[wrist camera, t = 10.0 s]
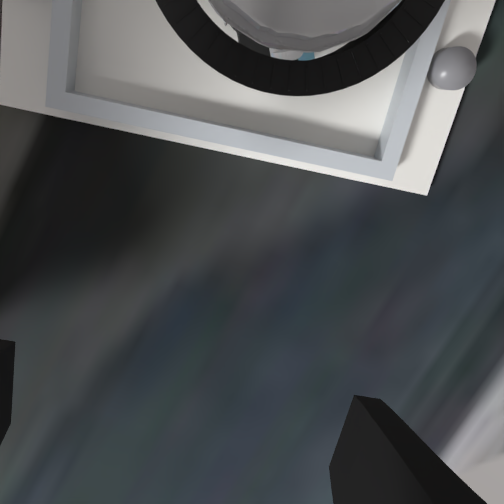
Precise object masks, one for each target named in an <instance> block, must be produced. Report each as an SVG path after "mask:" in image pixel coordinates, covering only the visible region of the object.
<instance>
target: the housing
mask: <svg viewBox="0 0 504 504" xmlns="http://www.w3.org/2000/svg"><path fill="white" fill-rule="evenodd" d="M197 1H198V3H199V4H200V6H201V7H202V9H203V10H204V11H205V12H206V14H207V15H208V16H209V17H210V18H211V19H212V21H213V22H214V23H215V24H216V25H217V26H218V27H219V28H221V29H222V30H223V31H224V32H225V33H226V34H227V35H229V36H230V37H231V38H233V39H234V40H236V41H237V42H238V37H237V32H236V31H235V30H234V29H233V28H232V27H231V26H230V25H229V24H227V26H225V25H224V21H223V19H222V18H221V17H220V16H219V15H218V14H217V13H216V12H215V10H214V9H213V7H212V6H211V4H210V3H209V1H208V0H197ZM495 1H496V0H445V1H444V3H443V5H442V6H441V8H440V10H439V12H438V13H437V15H436V16H435V18H434V19H433V20H432V22H431V23H430V25H429V26H428V28H427V29H426V30H425V31H424V32H423V34H422V35H421V36H420V37H419V38H418V39H417V41H416V42H415V43H414V44H413V45H412V46H411V47H410V48H409V49H408V50H407V51H406V52H405V53H404V54H403V55H402V56H400V57H399V58H398V59H397V60H395V61H394V62H393V63H392V64H390V65H389V66H388V67H386V68H385V69H383V70H382V71H380V72H378V73H377V74H375V75H374V76H372V77H370V78H368V79H366V80H364V81H362V82H360V83H358V84H356V85H353V86H350V87H348V88H345V89H342V90H338V91H335V92H331V93H327V94H320V95H313V96H284V95H276V94H271V93H266V92H261V91H258V90H255V89H252V88H249V87H246V86H244V85H242V84H239V83H237V82H235V81H232V80H231V79H229V78H227V77H226V76H224V75H222V74H220V73H219V72H217V71H216V70H214V69H213V68H212V67H210V66H209V65H208V64H206V63H205V62H203V61H202V60H201V59H200V58H199V57H198V56H197V55H196V54H195V53H194V52H192V51H191V50H190V49H189V47H188V46H187V45H186V44H185V43H184V42H183V41H182V40H181V39H180V37H179V36H178V35H177V34H176V32H175V31H174V30H173V28H172V27H171V25H170V24H169V23H168V21H167V20H166V18H165V16H164V15H163V13H162V11H161V10H160V8H159V6H158V5H157V2H156V0H2V28H1V57H0V105H4V106H9V107H13V108H18V109H23V110H28V111H32V112H37V113H42V114H46V115H51V116H56V117H60V118H65V119H70V120H75V121H79V122H84V123H89V124H93V125H98V126H103V127H107V128H112V129H117V130H122V131H126V132H131V133H136V134H140V135H145V136H150V137H154V138H159V139H164V140H169V141H173V142H178V143H183V144H187V145H192V146H197V147H201V148H206V149H211V150H216V151H220V152H225V153H230V154H234V155H239V156H244V157H248V158H253V159H258V160H263V161H267V162H272V163H277V164H281V165H286V166H291V167H295V168H300V169H305V170H309V171H314V172H319V173H324V174H328V175H333V176H338V177H342V178H347V179H352V180H356V181H361V182H366V183H371V184H375V185H380V186H385V187H389V188H394V189H399V190H403V191H408V192H413V193H418V194H422V195H427V194H428V191H429V188H430V185H431V183H432V180H433V177H434V174H435V171H436V168H437V166H438V163H439V160H440V157H441V154H442V151H443V148H444V146H445V143H446V140H447V137H448V134H449V131H450V129H451V126H452V123H453V120H454V117H455V114H456V112H457V109H458V106H459V103H460V100H461V97H462V95H463V92H464V89H465V86H467V85H468V84H469V83H470V82H471V80H472V79H473V77H474V75H475V72H476V68H477V62H476V55H477V52H478V49H479V46H480V43H481V41H482V38H483V35H484V32H485V29H486V26H487V24H488V21H489V18H490V15H491V12H492V9H493V7H494V4H495ZM347 43H349V42H347ZM347 43H344V44H341V45H338V46H336V47H333V48H330V49H327V50H324V51H321V52H314V56H315V58H319V57H322V56H325V55H327V54H329V53H332V52H334V51H336V50H337V49H339V48H341V47H343V46H344V45H346V44H347Z"/></svg>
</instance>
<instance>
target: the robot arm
mask: <svg viewBox="0 0 504 504" xmlns="http://www.w3.org/2000/svg"><path fill="white" fill-rule="evenodd" d="M14 357H15V342H14V341H8V340H1V339H0V445H1V443H2V441H3V438H4V436H5V434H6V432H7V430H8V428H9V426H10V424H11V411H12V393H13V375H14ZM329 470H330V479H331V488H332V496H333V503H334V504H487V503H486V502H485V501H484V500H483V499H481V497H479V496H478V495H477V494H476V493H475V492H474V491H473V490H472V489H471V488H470V487H468V485H467V484H466V483H465V482H463V481H462V480H461V479H460V478H459V477H458V476H457V475H456V474H455V473H454V472H453V471H452V470H451V469H450V468H449V467H448V466H447V465H446V464H445V463H444V462H443V461H442V460H441V459H440V458H439V457H438V456H437V455H436V454H435V453H434V452H433V451H432V450H431V449H430V448H429V447H428V446H427V445H426V444H425V443H424V442H423V441H422V440H421V439H420V438H419V437H418V436H417V434H416V433H415V432H414V431H413V430H412V429H411V428H410V427H409V426H408V425H407V424H406V423H405V422H404V421H403V420H402V419H401V418H400V417H399V416H398V415H397V414H396V413H395V412H394V411H393V410H392V409H391V408H390V407H389V406H388V405H387V404H385V403H384V402H383V401H382V400H381V399H376V398H370V397H364V396H357V395H354V397H353V400H352V403H351V406H350V408H349V411H348V414H347V417H346V420H345V423H344V426H343V428H342V431H341V434H340V437H339V440H338V443H337V446H336V448H335V451H334V454H333V457H332V460H331V463H330V466H329Z"/></svg>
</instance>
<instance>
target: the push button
mask: <svg viewBox="0 0 504 504" xmlns="http://www.w3.org/2000/svg"><path fill="white" fill-rule="evenodd" d="M208 1H209V3H210V4H211V6H212V7H213V9H214V10H215V12H216V13H217V14H218V15H219V16H220V17H221V18H222V19H223V21H224V25H225V26H227V24H229V25H230V26H231V27H232V28H233V29H234V30H235V31H236V32H237V37H238V42H237V41H236V40H234V39H233V38H231V37H230V36H229V35H227V34H226V33H225V32H224V31H223V30H222V29H221V28H219V27H218V26H217V25H216V24H215V23H214V22H213V21H212V19H211V18H210V17H209V16H208V15H207V14H206V12H205V11H204V10H203V9H202V7H201V6H200V4H199V3H198V1H197V0H156V2H157V5H158V6H159V8H160V10H161V11H162V13H163V15H164V16H165V18H166V20H167V21H168V23H169V24H170V25H171V27H172V28H173V30H174V31H175V32H176V34H177V35H178V36H179V37H180V39H181V40H182V41H183V42H184V43H185V44H186V45H187V46H188V47H189V49H190V50H191V51H192V52H194V53H195V54H196V55H197V56H198V57H199V58H200V59H201V60H202V61H203V62H205V63H206V64H208V65H209V66H210V67H212V68H213V69H214V70H216V71H217V72H219V73H220V74H222V75H224V76H226V77H227V78H229V79H231V80H232V81H235V82H237V83H239V84H242V85H244V86H246V87H249V88H252V89H255V90H258V91H261V92H266V93H271V94H276V95H284V96H313V95H320V94H327V93H331V92H335V91H338V90H342V89H345V88H348V87H350V86H353V85H356V84H358V83H360V82H362V81H364V80H366V79H368V78H370V77H372V76H374V75H375V74H377V73H378V72H380V71H382V70H383V69H385V68H386V67H388V66H389V65H390V64H392V63H393V62H394V61H395V60H397V59H398V58H399V57H400V56H402V55H403V54H404V53H405V52H406V51H407V50H408V49H409V48H410V47H411V46H412V45H413V44H414V43H415V42H416V41H417V39H418V38H419V37H420V36H421V35H422V34H423V32H424V31H425V30H426V29H427V28H428V26H429V25H430V23H431V22H432V20H433V19H434V18H435V16H436V15H437V13H438V12H439V10H440V8H441V6H442V5H443V3H444V1H445V0H208ZM347 42H349V43H347ZM344 43H347V44H346V45H344V46H343V47H341V48H339V49H337V50H336V51H334V52H332V53H329V54H327V55H325V56H322V57H319V58H315V56H314V52H321V51H324V50H327V49H330V48H333V47H336V46H338V45H341V44H344Z"/></svg>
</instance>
